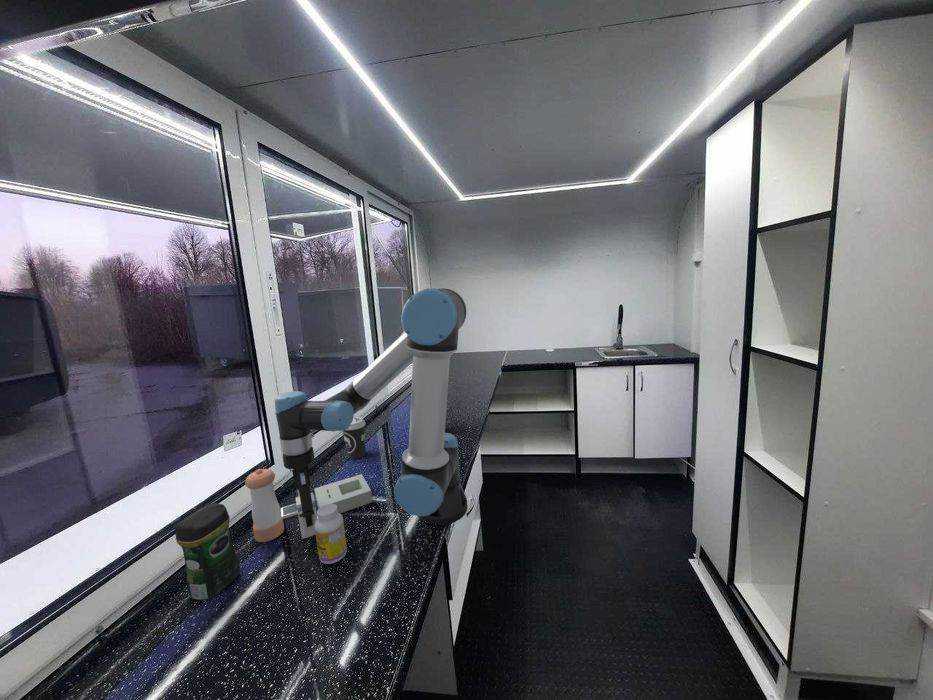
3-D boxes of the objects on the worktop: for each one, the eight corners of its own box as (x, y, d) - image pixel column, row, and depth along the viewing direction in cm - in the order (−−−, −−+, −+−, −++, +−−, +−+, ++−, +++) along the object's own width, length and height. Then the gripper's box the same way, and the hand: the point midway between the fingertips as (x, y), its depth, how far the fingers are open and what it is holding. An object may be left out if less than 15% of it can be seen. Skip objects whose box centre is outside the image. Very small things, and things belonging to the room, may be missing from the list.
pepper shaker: (251, 545, 94) (238, 479, 90) (259, 527, 100) (248, 465, 97) (280, 538, 95) (270, 473, 92) (286, 522, 102) (276, 461, 99)
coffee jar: (220, 566, 87) (207, 497, 84) (247, 570, 85) (234, 500, 82) (181, 600, 77) (164, 524, 74) (209, 605, 75) (193, 528, 72)
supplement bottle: (315, 555, 89) (308, 508, 86) (341, 541, 93) (335, 497, 91) (324, 570, 83) (317, 521, 81) (351, 555, 88) (345, 509, 85)
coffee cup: (365, 460, 137) (360, 424, 135) (340, 461, 138) (336, 425, 135) (371, 449, 147) (368, 415, 144) (349, 450, 147) (345, 416, 145)
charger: (319, 532, 97) (314, 499, 95) (301, 539, 95) (296, 505, 93) (317, 523, 101) (312, 492, 99) (300, 529, 99) (295, 497, 97)
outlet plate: (321, 519, 102) (319, 507, 102) (315, 499, 113) (314, 488, 112) (372, 502, 110) (371, 490, 109) (362, 484, 120) (361, 473, 119)
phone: (314, 508, 108) (314, 505, 108) (281, 519, 104) (281, 516, 103) (312, 501, 112) (312, 497, 112) (281, 511, 108) (280, 507, 108)
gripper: (319, 464, 85) (329, 542, 88) (307, 431, 106) (316, 495, 110) (284, 473, 81) (297, 554, 85) (279, 437, 102) (289, 503, 106)
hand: (307, 521), depth 97 cm, fingers open, 13 cm apart
